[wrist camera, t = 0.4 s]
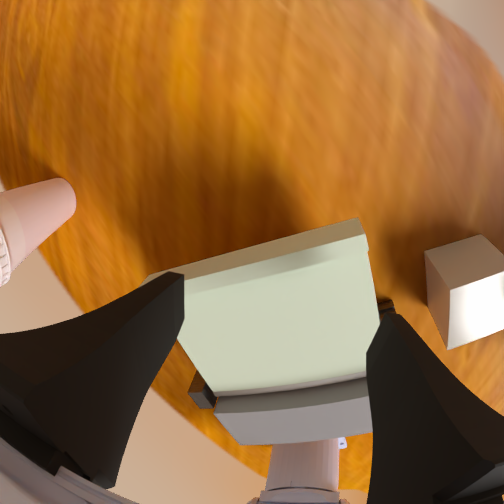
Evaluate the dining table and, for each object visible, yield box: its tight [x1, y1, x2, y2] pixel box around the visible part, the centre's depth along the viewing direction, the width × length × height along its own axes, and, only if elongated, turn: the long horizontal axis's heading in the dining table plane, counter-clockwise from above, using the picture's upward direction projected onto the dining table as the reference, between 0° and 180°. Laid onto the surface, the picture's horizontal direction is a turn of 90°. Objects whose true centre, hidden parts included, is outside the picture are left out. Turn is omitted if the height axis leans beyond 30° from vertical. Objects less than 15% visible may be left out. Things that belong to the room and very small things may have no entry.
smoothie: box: [0, 178, 76, 287], centre depth 15 cm, size 6×6×14 cm
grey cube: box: [424, 234, 504, 350], centre depth 16 cm, size 5×5×5 cm
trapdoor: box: [138, 217, 380, 445], centre depth 18 cm, size 16×12×4 cm
